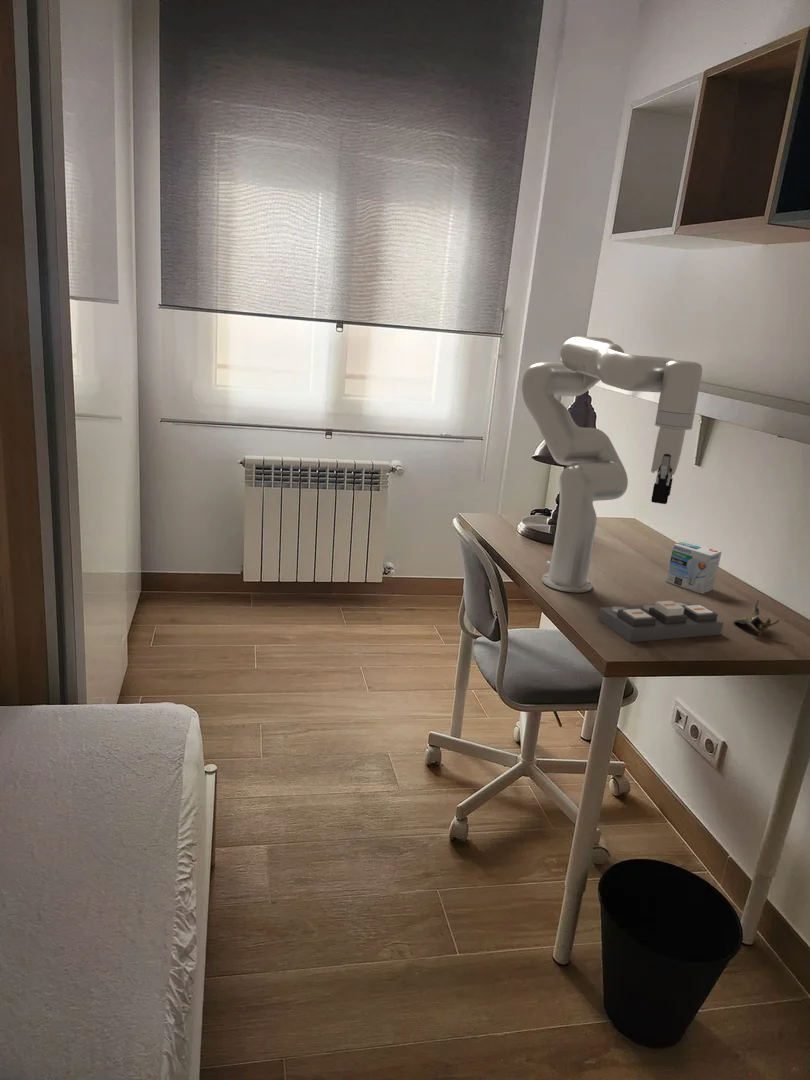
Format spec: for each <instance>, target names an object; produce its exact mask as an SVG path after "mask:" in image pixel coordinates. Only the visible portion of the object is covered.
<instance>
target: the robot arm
mask: <svg viewBox="0 0 810 1080" xmlns="http://www.w3.org/2000/svg"><path fill="white" fill-rule="evenodd" d="M559 357H560V360H561V362H558V361H543V362H537V363H534V364H532V365H530V366H528V367H527V369H526V371H525V372H524V374H523V378H522V383H521V391H522V398H523V401H524V403H525V406H526V407H527V408H526V409H528V411H529V413H530V414H531V417H532V418H533V420H534V422H535V423H536V425H537V427H538V428H539V431H540V433H541V435H542V438H543V439H544V442H545V444H546V446H547V449H548V450H549V453H550V455H551V457H552V458H553V461H554V462H556V463H557V464H559V465H562V466H565V468H564V469H563V470H562V471H561V472H560V476H559V482H558V485H559V486H558V487H559V490H558V491H559V505H558V506H559V507H558V515H557V521H556V529H555V535H554V541H553V547H552V553H551V560H547V561H545V566H547V567H548V572H545V573H544V574H543V575H542V578H541V579H542V580H541V581H542V583H544V584H545V585H546V586H548V587H549V588H552V589H554V590H558V591H562V592H567V593H576V594H577V593H586V592H589V591H591V590H592V588H593V583H592V581H591V580H590V579H589V578H588V576H589V570H590V564H591V563H590V562H591V557H592V552H593V546H594V540H595V533H596V527H597V520H598V519H597V517H598V516H597V513H596V510H595V506H594V504H593V503H594V502H596V501H597V502H599V501H613V500H618V499H619V498H621V497H623V496H624V494H625V493H626V492H627V489H628V485H629V484H628V483H629V482H628V481H629V480H628V479H629V478H628V473H627V472H626V469H625V467H624V465H623V462H622V461H621V458H620V456H619V454H618V453H617V451H616V448H615V447H614V445H613V443H612V441H611V439H610V438H609V436H608V434H606V433H605V431H603V430H601V429H600V428H597V427H595V428H594V427H583V426H582V427H581V426H579V425H577V424H576V422H575V421H574V419H573V417H572V415H571V413H570V411H569V410H568V408H567V407H566V406H565V405H564V404H563V403H562V402H561V401H559V400H558V398H556V397H579V396H581V395H583V394H585V393H586V392H588V391H589V390H591V389H592V388H593V387H594V386H595V385H596V384H597V383H599V382H600V381H601V383H603V384H605V385H607V386H611V387H613V388H616V389H621V390H622V391H623V390H624V391H628V392H642V393H643V392H646V393H648V392H649V393H659V399H658V405H657V411H656V416H655V423H654V426H656V427H659V429H658V433H657V437H656V440H655V441H656V442H655V447H654V452H653V458H652V459H653V460H652V464H651V470H650V471H651V473H652V474H655V472H657V473H656V478H655V483H654V484H653V489H652V495H651V503H654V504H655V503H656V504H659V505H660V504H662V505H666V504H667V503H668V499H669V496H670V495H671V491H672V490H671V488H672V485H673V476H674V475H675V473H676V471H677V468H678V465H679V463H680V459H681V454H682V450H683V444H684V440H685V434H686V430H687V431H690V430H692V429H693V424H694V419H695V414H696V409H697V403H698V396H699V391H700V386H701V382H702V381H701V380H702V376H703V366H702V364H701V363H699V362H696V361H688V360H678V359H674V358H671V357H663V356H652V355H650V356H649V355H635V354H629V353H625V351H624V349H623V348H622V346H621V345H618V344H617V343H615V342H613V341H612V340H611V339H608V338H604V337H598V336H597V337H596V336H595V337H594V336H585V335H583V336H582V335H581V336H580V335H579V336H572V337H570V338H569V339H567V340H565V342H564V343H563V344H561V347H560V350H559Z"/></svg>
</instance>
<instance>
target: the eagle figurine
mask: <svg viewBox="0 0 810 1080" xmlns="http://www.w3.org/2000/svg"><path fill="white" fill-rule="evenodd" d="M759 602H760V600H759V599H757V601H756V603H755V604H754V607H753V608H752V614H753V616H752V617H740V618H739V619H736V620H734V621H733V623H739V624H741V625H746V624H747V625H750V624H751V625H753V627H754V628H755V629H756V630H757V631H758V637H759V636H760V637H761V636H762V634H763V633H764V632H765V631H766V630H767V629H768V628H770V627H772V626H773V625H776V624H778V623H779V622H780V619H777V620H775V621H773V622H772V621H771V619H770V617H768V619H767V620H765V622H764V621H763V620H761V618H760V617H759V615H760V609H759V606H758V605H759Z"/></svg>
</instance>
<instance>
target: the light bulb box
mask: <svg viewBox="0 0 810 1080" xmlns="http://www.w3.org/2000/svg"><path fill="white" fill-rule="evenodd" d="M721 556H722V551H721V550H717V549H713V548H711V547H710V548H709V547H707V546H704V545H700V544H697V543H693V542H690V541H687V540H683V541H681V542H678V543H675V544H673V546H672V550H671V555H670V560H669V564H668V568H667V574H666V577H665V578H666V579H665V582H667V583H669V584H672V585H675V586H678V587H681V588H684V589H687V590H688V591H692V592H694V593H697V594H700V593H701V595H703V594H706V593H708V592H710V591H712V589H713V590H714V586H715V582H716V577H717V573H718V569H719V565H720V561H721ZM705 592H706V593H705Z"/></svg>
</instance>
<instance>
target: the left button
mask: <svg viewBox="0 0 810 1080" xmlns="http://www.w3.org/2000/svg"><path fill="white" fill-rule="evenodd" d="M623 612H624V613H626V614H627V615H629V616H631V617H632V618H634V619H645V618H652V616H650V615H648V614H647V613H645V612H644V611H642V610H641V609H628V610H623Z"/></svg>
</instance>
